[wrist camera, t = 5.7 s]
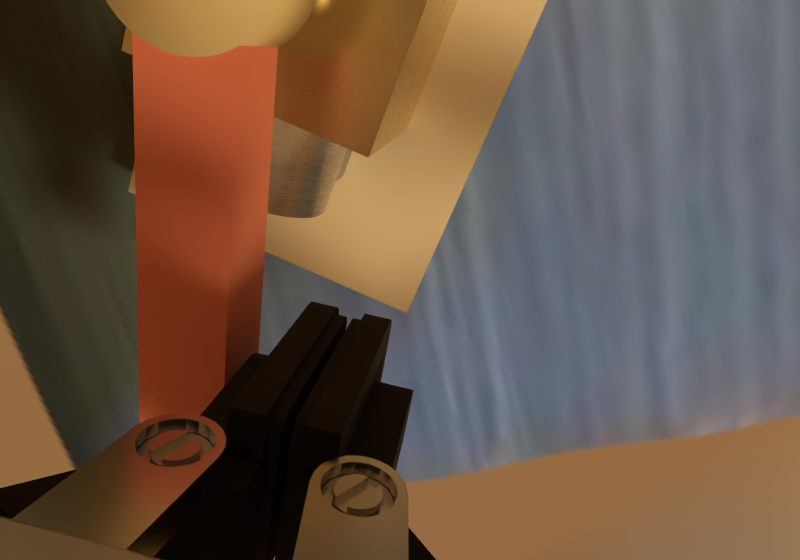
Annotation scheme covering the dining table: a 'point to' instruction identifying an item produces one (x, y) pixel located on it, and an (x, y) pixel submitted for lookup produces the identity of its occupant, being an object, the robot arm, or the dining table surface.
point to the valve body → (345, 91)
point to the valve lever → (201, 186)
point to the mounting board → (413, 164)
